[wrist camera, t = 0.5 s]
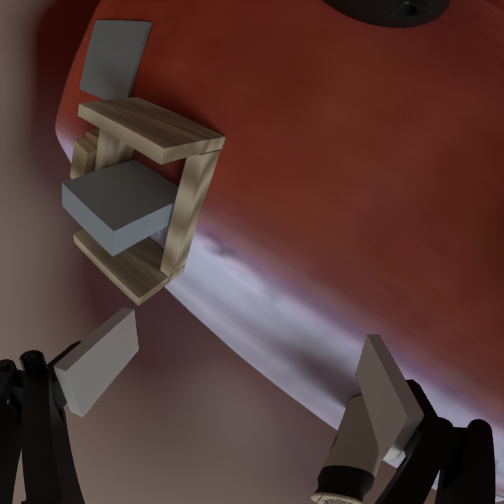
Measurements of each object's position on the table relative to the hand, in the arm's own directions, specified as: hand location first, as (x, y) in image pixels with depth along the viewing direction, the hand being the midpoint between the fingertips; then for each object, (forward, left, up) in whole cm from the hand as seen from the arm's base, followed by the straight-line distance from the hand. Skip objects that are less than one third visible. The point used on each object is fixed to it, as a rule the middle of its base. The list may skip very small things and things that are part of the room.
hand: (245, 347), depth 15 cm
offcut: (+9, -35, -14) cm, 39 cm away
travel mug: (+21, +23, -19) cm, 36 cm away
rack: (+8, -23, -19) cm, 31 cm away
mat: (-8, -41, -19) cm, 46 cm away
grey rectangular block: (+8, -23, -19) cm, 31 cm away
